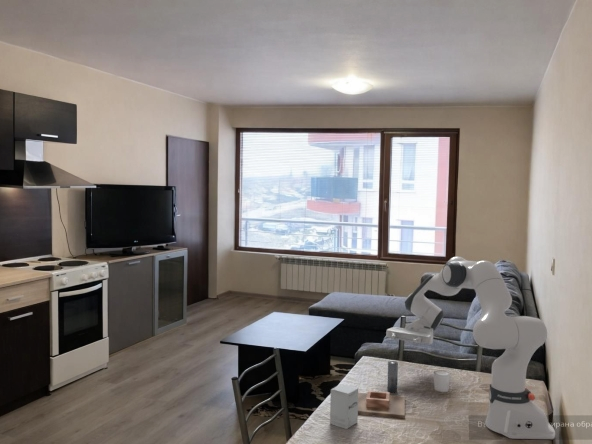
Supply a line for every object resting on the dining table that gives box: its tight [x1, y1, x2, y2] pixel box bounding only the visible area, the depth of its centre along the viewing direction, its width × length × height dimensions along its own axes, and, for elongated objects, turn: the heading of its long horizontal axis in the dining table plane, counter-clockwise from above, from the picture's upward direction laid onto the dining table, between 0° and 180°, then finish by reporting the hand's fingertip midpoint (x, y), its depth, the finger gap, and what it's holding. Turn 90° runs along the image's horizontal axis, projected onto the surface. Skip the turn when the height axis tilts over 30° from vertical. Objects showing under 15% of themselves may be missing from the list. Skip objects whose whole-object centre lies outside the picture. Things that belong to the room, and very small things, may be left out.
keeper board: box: [358, 390, 406, 419], centre depth 204 cm, size 20×18×4 cm
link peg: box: [386, 360, 399, 394], centre depth 220 cm, size 4×4×12 cm
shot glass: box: [433, 370, 451, 393], centre depth 223 cm, size 7×7×7 cm
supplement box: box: [329, 383, 359, 430], centre depth 189 cm, size 7×7×13 cm
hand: (403, 339), depth 230 cm, fingers open, 8 cm apart
